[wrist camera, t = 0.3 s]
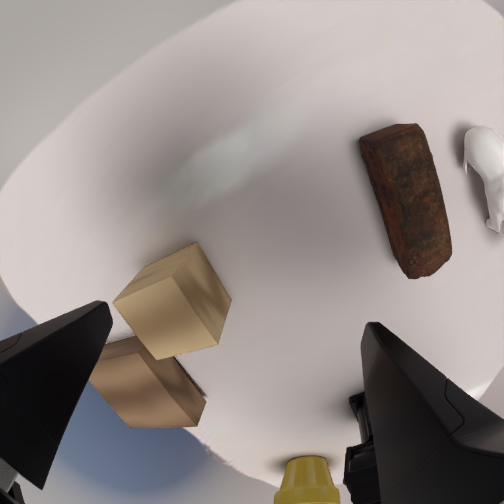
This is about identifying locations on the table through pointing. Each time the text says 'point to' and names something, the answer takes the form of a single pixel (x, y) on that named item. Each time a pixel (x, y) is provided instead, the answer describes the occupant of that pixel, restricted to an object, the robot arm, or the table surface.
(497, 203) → the white lumpy chunk
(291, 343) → the table surface
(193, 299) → the oak cube
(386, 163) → the brick
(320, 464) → the plant pot
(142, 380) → the tan flat square block
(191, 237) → the table surface
